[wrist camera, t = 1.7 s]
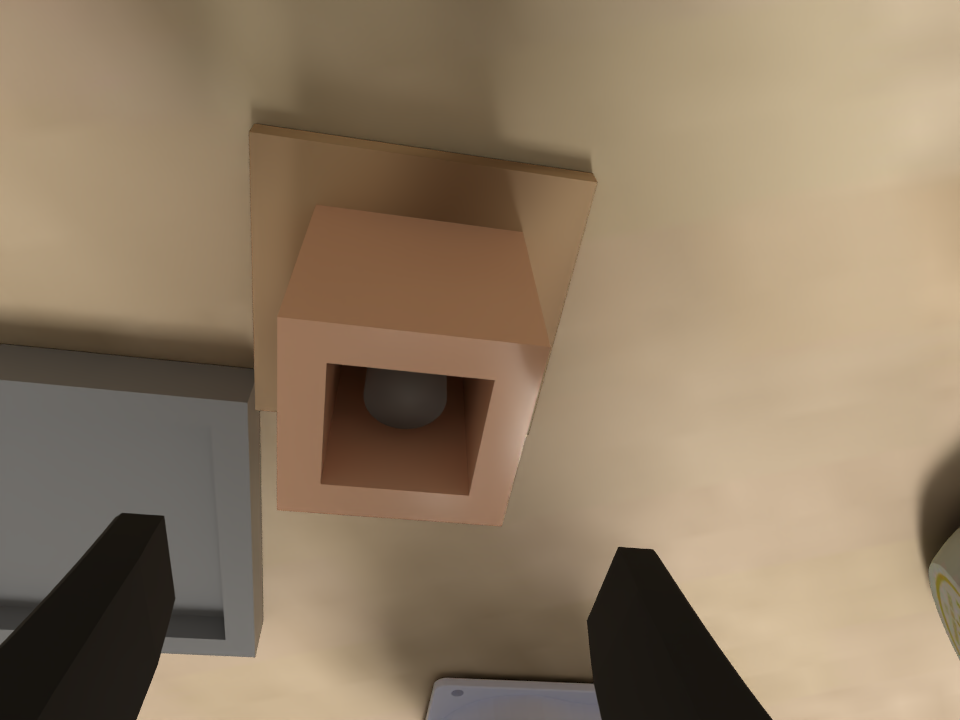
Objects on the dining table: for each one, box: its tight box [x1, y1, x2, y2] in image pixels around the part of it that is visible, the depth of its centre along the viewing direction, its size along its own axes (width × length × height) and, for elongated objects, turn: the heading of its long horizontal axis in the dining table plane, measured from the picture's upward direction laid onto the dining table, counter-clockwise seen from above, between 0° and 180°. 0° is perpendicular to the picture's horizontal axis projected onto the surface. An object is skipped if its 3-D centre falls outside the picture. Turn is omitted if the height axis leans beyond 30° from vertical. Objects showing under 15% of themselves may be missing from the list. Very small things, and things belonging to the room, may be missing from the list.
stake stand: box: [249, 124, 597, 435], centre depth 17 cm, size 8×8×4 cm
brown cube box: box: [277, 205, 550, 526], centre depth 16 cm, size 5×6×5 cm
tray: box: [0, 344, 263, 657], centre depth 22 cm, size 12×12×2 cm
